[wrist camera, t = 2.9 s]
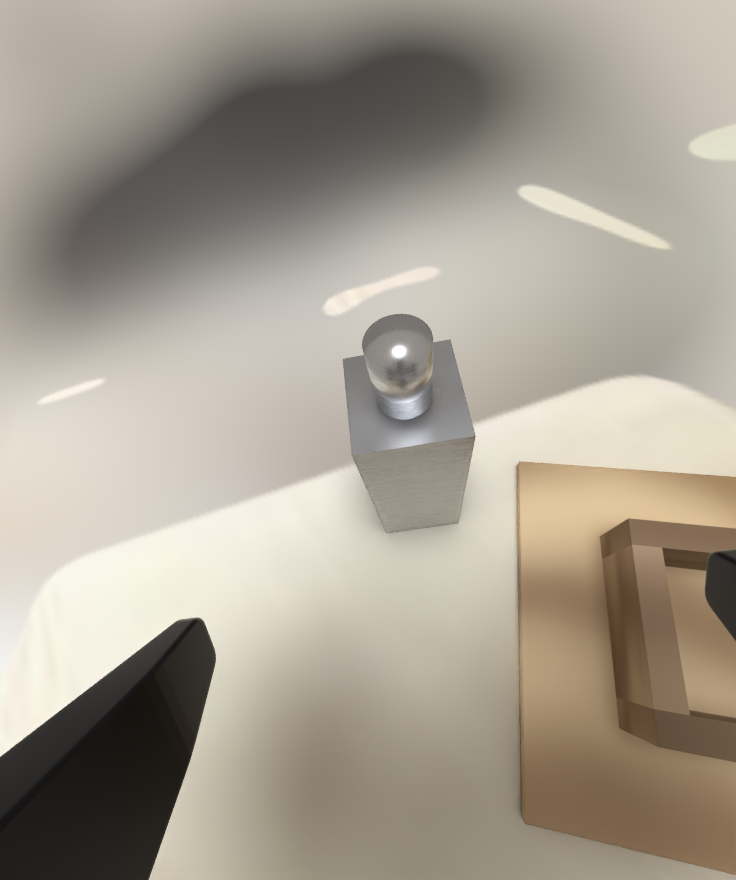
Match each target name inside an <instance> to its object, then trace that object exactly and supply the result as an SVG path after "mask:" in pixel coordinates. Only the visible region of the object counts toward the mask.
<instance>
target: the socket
mask: <svg viewBox="0 0 736 880" xmlns="http://www.w3.org/2000/svg"><path fill="white" fill-rule="evenodd" d="M517 498H518V569H519V639H520V709H521V780H522V818H523V820H524V822H525V824H528V825H533V826H537V827H541V828H545V829H549V830H553V831H557V832H561V833H566V834H570V835H574V836H578V837H582V838H586V839H590V840H595V841H599V842H603V843H607V844H611V845H615V846H619V847H623V848H628V849H632V850H636V851H640V852H644V853H648V854H652V855H656V856H661V857H665V858H669V859H673V860H677V861H681V862H685V863H689V864H694V865H698V866H702V867H706V868H710V869H714V870H718V871H722V872H727V873H731V874H735V875H736V641H735V640H734V638H733V637H732V636H731V634H730V633H729V632H728V630H727V629H726V628H725V626H724V625H723V624H722V622H721V621H720V620H719V618H718V617H717V616H716V614H715V613H714V612H713V610H712V609H711V608H710V606H709V604H708V602H707V600H706V597H705V580H706V569H707V560H708V557H709V555H710V554H711V553H712V552H714V551H720V550H727V549H736V477H727V476H713V475H700V474H686V473H672V472H658V471H644V470H631V469H617V468H603V467H589V466H575V465H561V464H548V463H534V462H520V461H519V463H518V465H517Z"/></svg>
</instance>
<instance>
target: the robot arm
mask: <svg viewBox="0 0 736 880" xmlns="http://www.w3.org/2000/svg"><path fill="white" fill-rule="evenodd" d="M705 597H706V600H707V602H708V604H709V606H710V608H711V609H712V610H713V612H714V613H715V614H716V616H717V617H718V618H719V620H720V621H721V622H722V624H723V625H724V626H725V628H726V629H727V630H728V632H729V633H730V634H731V636H732V637H733V638H734V640H735V641H736V549H727V550H720V551H714V552H712V553H711V554H710V555H709V557H708V560H707V569H706V580H705ZM215 662H216V654H215V649H214V646H213V644H212V641H211V639H210V636H209V633H208V631H207V628H206V625H205V623H204V621H203V620H202V619H201V618H189V619H182V620H178V621H176V622H175V623H174V624H172V625H171V626H170V627H168V628H167V629H166V630H165V631H163V632H162V633H161V634H159V635H158V636H157V637H155V638H154V639H153V640H152V641H150V642H149V643H148V644H146V645H145V646H144V647H142V648H141V649H140V650H139V651H137V652H136V653H135V654H133V655H132V656H131V657H129V658H128V659H127V660H126V661H124V662H123V663H122V664H120V665H119V666H118V667H116V668H115V669H114V670H113V671H111V672H110V673H109V674H107V675H106V676H105V677H103V678H102V679H101V680H100V681H98V682H97V683H96V684H94V685H93V686H92V687H90V688H89V689H88V690H87V691H85V692H84V693H83V694H81V695H80V696H79V697H77V698H76V699H75V700H74V701H72V702H71V703H70V704H68V705H67V706H66V707H64V708H63V709H62V710H61V711H59V712H58V713H57V714H55V715H54V716H53V717H51V718H50V719H49V720H48V721H46V722H45V723H44V724H42V725H41V726H40V727H38V728H37V729H36V730H35V731H33V732H32V733H31V734H29V735H28V736H27V737H25V738H24V739H23V740H22V741H20V742H19V743H18V744H16V745H15V746H14V747H12V748H11V749H10V750H9V751H7V752H6V753H5V754H3V755H2V756H1V757H0V880H149V877H150V874H151V871H152V868H153V866H154V863H155V860H156V857H157V854H158V851H159V848H160V845H161V843H162V840H163V837H164V834H165V831H166V828H167V825H168V823H169V820H170V817H171V814H172V811H173V808H174V805H175V803H176V800H177V797H178V794H179V791H180V788H181V785H182V783H183V780H184V777H185V774H186V771H187V768H188V765H189V762H190V759H191V756H192V752H193V749H194V745H195V742H196V738H197V734H198V730H199V726H200V722H201V718H202V714H203V710H204V707H205V703H206V699H207V695H208V691H209V687H210V683H211V679H212V675H213V671H214V667H215Z"/></svg>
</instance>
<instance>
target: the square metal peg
mask: <svg viewBox="0 0 736 880" xmlns="http://www.w3.org/2000/svg"><path fill="white" fill-rule="evenodd" d="M362 348H363V352H364V355H363V356H357V357H352V358H346V359H343V366H344V377H345V388H346V398H347V408H348V420H349V429H350V440H351V451H352V457H353V459H354V461H355V464H356V466H357V468H358V470H359V473H360V475H361V477H362V479H363V482H364V484H365V486H366V488H367V490H368V493H369V495H370V497H371V499H372V502H373V504H374V506H375V508H376V511H377V513H378V515H379V517H380V519H381V522H382V524H383V526H384V528H385V531H386V533H391V532H398V531H405V530H412V529H419V528H426V527H433V526H440V525H447V524H454V523H458V522H459V517H460V512H461V507H462V502H463V497H464V491H465V486H466V481H467V476H468V471H469V466H470V461H471V456H472V451H473V446H474V441H475V432H474V428H473V425H472V421H471V417H470V413H469V409H468V405H467V402H466V398H465V394H464V390H463V386H462V382H461V378H460V375H459V371H458V367H457V363H456V359H455V356H454V352H453V348H452V344H451V340H445V341H439V342H434V343H433V336H432V332H431V330H430V328H429V327H428V325H427V324H426V323H425V322H424V321H423V320H421V319H419V318H417V317H415V316H412V315H407V314H395V315H390V316H386V317H383V318H381V319H379V320H378V321H376V322H375V323H373V324H372V325H371V326H370V327H369V328H368V330H367V331H366V333H365V335H364V337H363V342H362Z"/></svg>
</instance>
